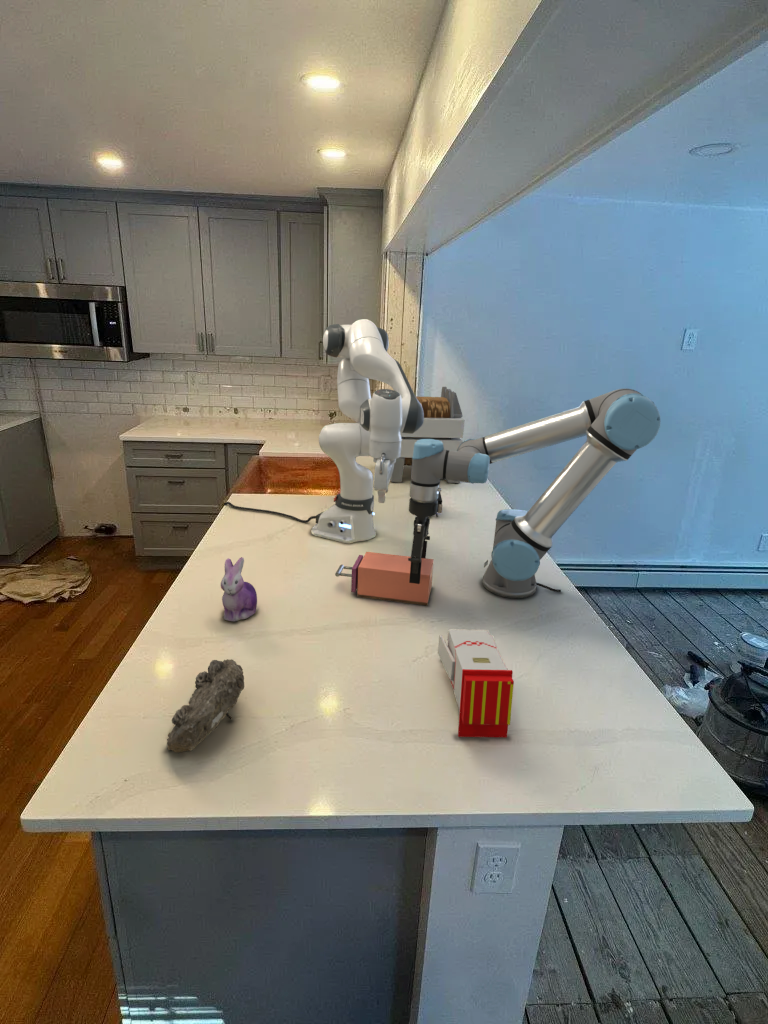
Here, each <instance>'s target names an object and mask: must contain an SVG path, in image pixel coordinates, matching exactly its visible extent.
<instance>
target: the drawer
mask: <svg viewBox="0 0 768 1024" xmlns="http://www.w3.org/2000/svg"><path fill="white" fill-rule="evenodd" d="M363 557H364V555H363V554H358V556H357V558H356V560H355V561H354V564H353V565H352V566H345V565H344V564H340V565H339V567H338V568H337V570H336V571H335V573H334V575H335V577H340V576H341V577H347V578H348V577H349V578H351V579H350V580H351V585H350V593H356V592H357V591H358V566H359V565H360V563H361V561H362V559H363ZM344 570H351V573H345V572H343V571H344Z"/></svg>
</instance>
